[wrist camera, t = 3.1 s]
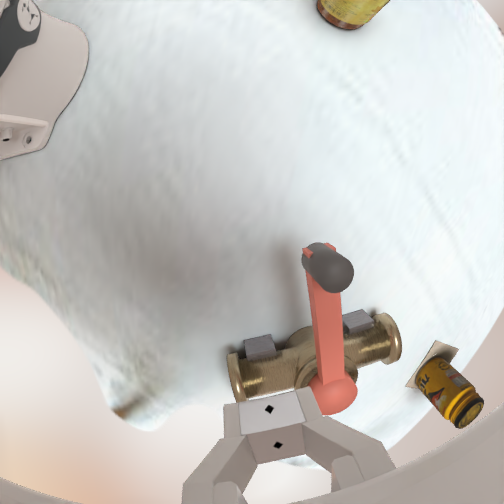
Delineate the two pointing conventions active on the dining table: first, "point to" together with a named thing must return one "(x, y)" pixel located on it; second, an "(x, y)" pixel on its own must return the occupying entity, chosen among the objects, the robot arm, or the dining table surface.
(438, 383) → the condiment
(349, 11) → the sauce bottle
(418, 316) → the dining table surface
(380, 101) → the dining table surface
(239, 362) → the valve body
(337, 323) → the lever
